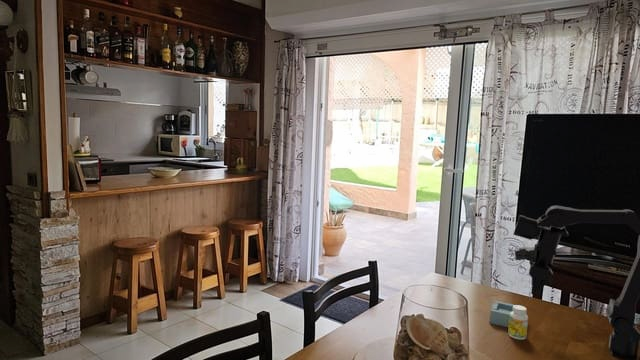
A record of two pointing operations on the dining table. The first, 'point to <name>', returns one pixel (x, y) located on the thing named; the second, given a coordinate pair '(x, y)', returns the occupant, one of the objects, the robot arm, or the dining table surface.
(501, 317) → the teal tray
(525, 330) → the supplement bottle
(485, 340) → the dining table surface
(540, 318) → the dining table surface
